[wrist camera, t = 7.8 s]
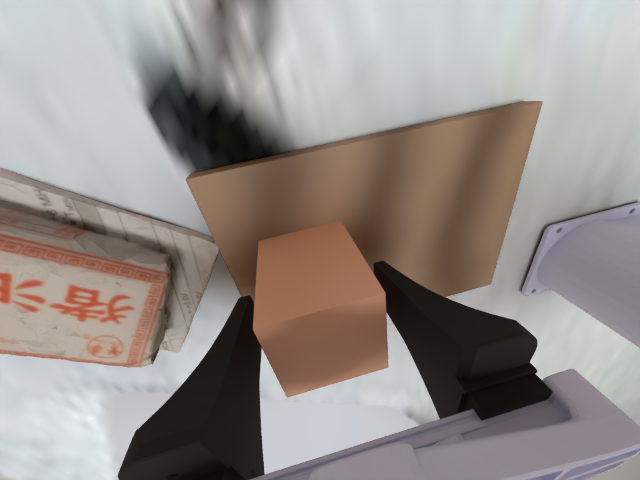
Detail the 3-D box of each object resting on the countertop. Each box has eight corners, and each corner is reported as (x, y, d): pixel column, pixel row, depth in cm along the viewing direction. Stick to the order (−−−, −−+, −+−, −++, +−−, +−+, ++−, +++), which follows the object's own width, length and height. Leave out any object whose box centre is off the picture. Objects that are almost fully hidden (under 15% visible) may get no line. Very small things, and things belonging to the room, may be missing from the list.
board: (523, 101, 14) (542, 101, 13) (480, 275, 22) (490, 284, 21) (191, 173, 13) (185, 179, 12) (265, 334, 20) (265, 346, 19)
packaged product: (-406, 362, 8) (-735, 50, 5) (-184, 276, 12) (-267, 75, 9) (165, 398, 15) (210, 282, 12) (186, 335, 19) (225, 235, 16)
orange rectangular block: (340, 220, 15) (385, 293, 9) (349, 282, 18) (388, 367, 12) (258, 240, 14) (252, 329, 9) (280, 300, 17) (287, 397, 12)
